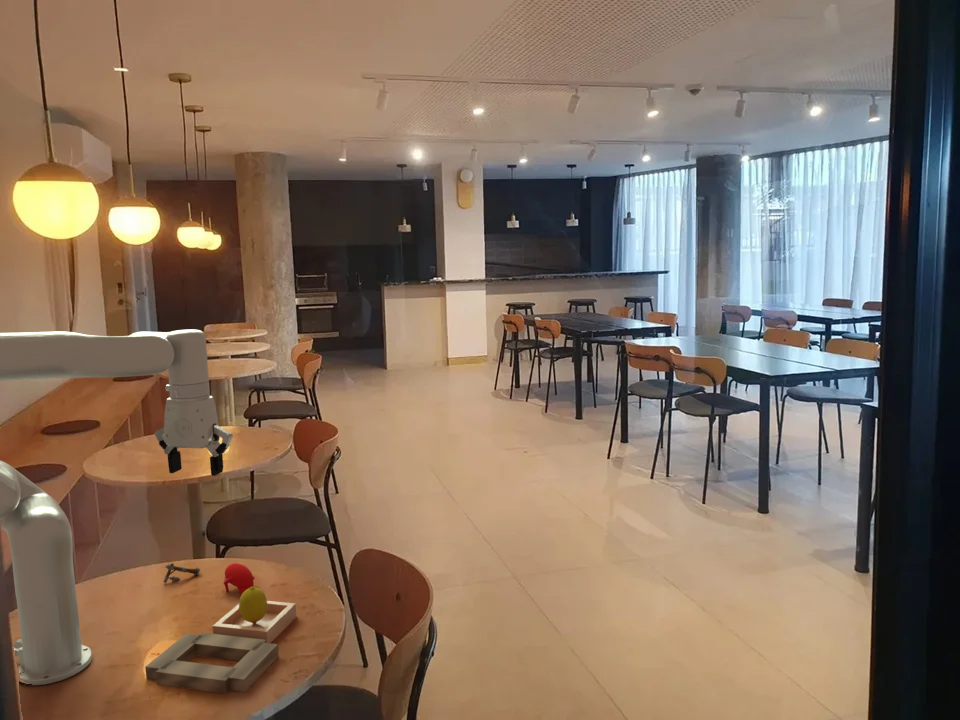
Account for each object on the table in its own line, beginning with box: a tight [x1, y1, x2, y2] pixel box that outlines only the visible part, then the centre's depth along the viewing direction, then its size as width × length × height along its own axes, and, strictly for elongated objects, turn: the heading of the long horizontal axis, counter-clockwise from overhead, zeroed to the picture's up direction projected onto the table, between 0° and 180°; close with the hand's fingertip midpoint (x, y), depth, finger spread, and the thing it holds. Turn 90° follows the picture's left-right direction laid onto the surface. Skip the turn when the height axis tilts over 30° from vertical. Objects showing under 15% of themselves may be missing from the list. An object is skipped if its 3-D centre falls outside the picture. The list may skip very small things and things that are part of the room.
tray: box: [212, 600, 297, 643], centre depth 152 cm, size 12×12×3 cm
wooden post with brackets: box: [163, 563, 201, 584], centre depth 176 cm, size 2×8×4 cm, turn 128°
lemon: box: [238, 586, 268, 624], centre depth 151 cm, size 6×6×8 cm
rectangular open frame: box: [144, 632, 279, 695], centre depth 137 cm, size 20×14×2 cm
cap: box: [223, 562, 256, 595], centre depth 169 cm, size 8×6×6 cm
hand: (196, 472), depth 151 cm, fingers open, 9 cm apart
